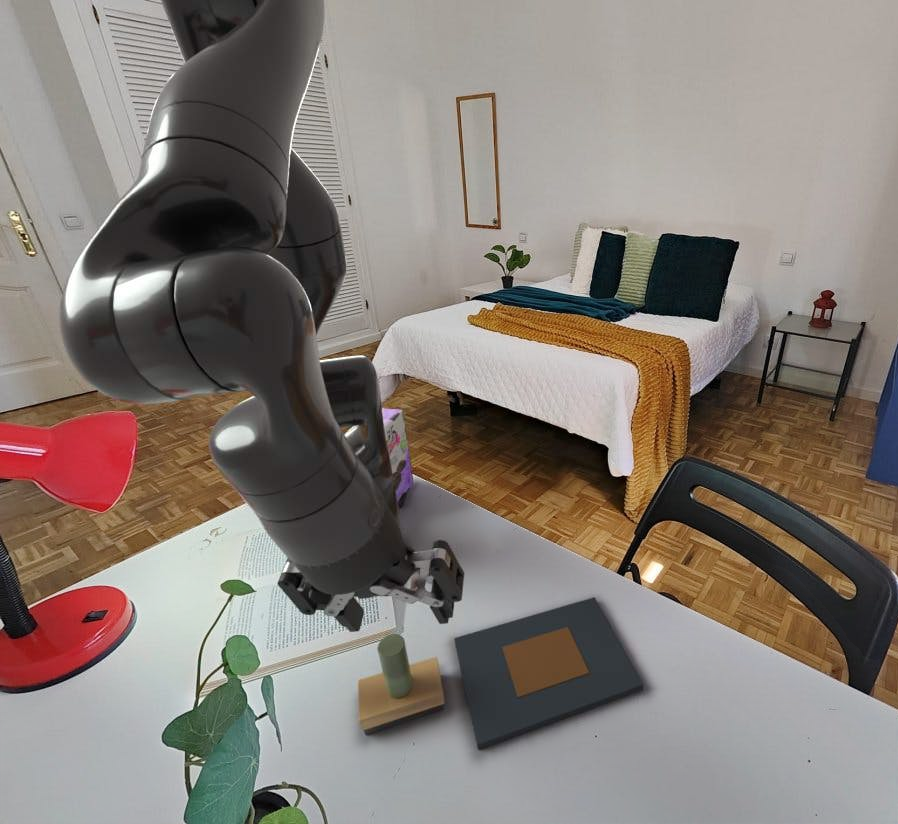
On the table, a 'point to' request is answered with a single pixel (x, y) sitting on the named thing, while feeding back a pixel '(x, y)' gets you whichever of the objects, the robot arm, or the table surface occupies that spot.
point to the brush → (398, 688)
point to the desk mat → (542, 670)
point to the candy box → (397, 450)
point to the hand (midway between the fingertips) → (401, 618)
